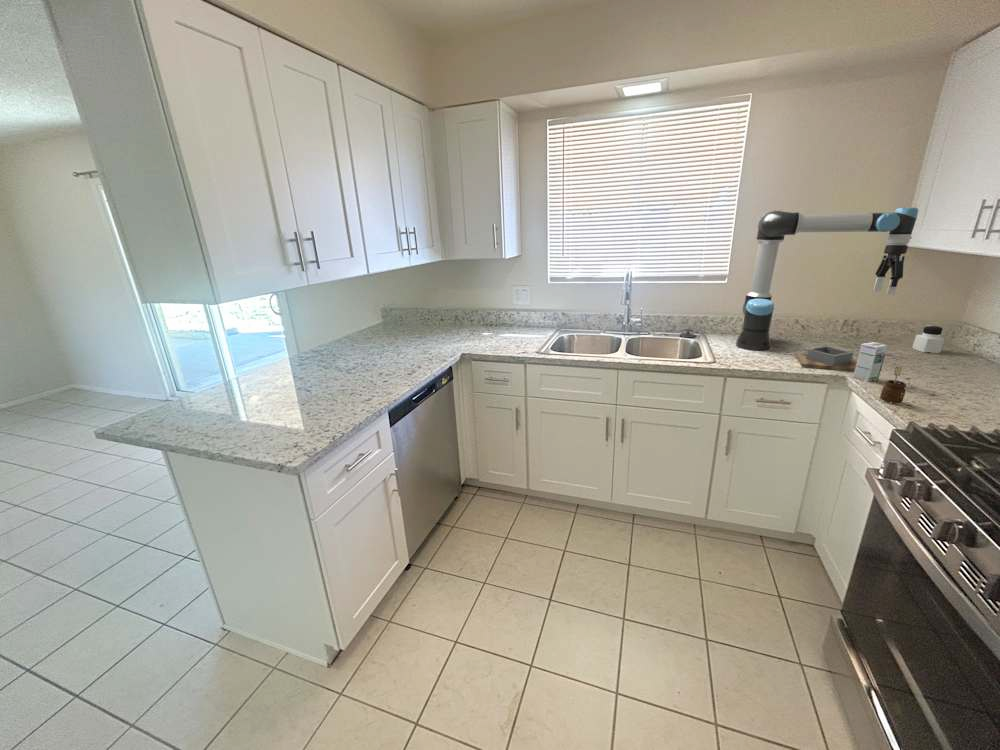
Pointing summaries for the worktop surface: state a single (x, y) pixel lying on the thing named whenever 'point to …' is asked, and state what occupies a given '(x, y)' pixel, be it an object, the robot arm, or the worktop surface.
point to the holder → (829, 355)
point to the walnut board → (814, 364)
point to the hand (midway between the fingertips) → (883, 292)
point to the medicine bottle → (929, 340)
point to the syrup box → (870, 361)
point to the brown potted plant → (894, 389)
